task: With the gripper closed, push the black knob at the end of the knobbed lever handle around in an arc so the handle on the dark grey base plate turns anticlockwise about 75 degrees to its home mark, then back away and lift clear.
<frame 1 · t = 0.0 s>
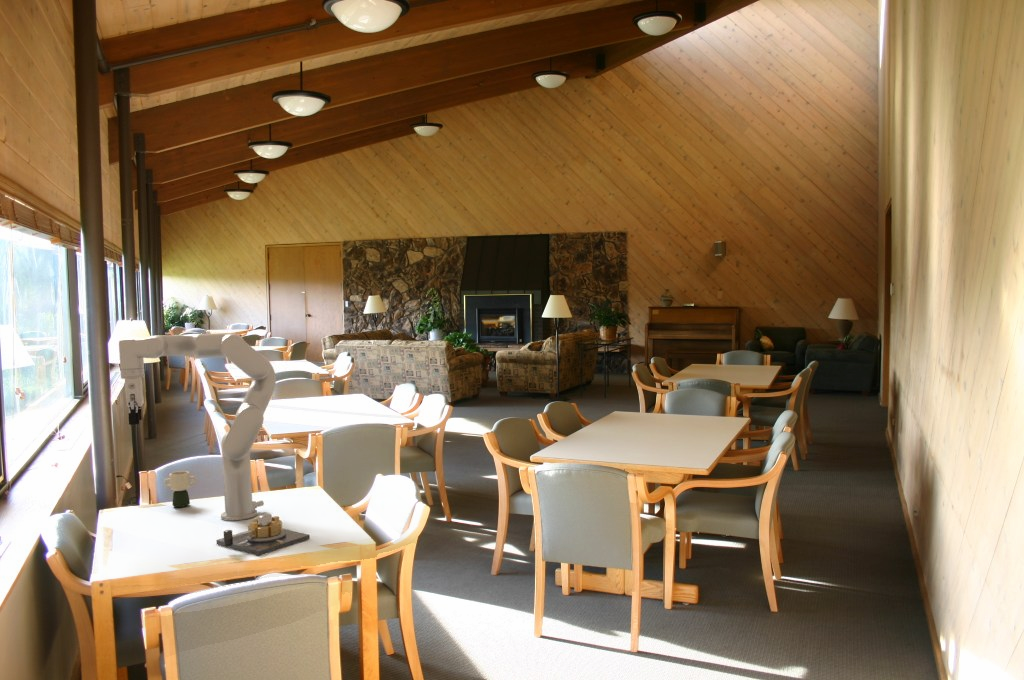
hand: (135, 422, 300), 37 cm above the table, tool pointing down, fingers open, 9 cm apart
base plate: (265, 541, 281), on the table
knobbed lever handle: (252, 530, 277), point 5 cm above the table, hinge at 0.0°
character mug: (181, 506, 330), on the table
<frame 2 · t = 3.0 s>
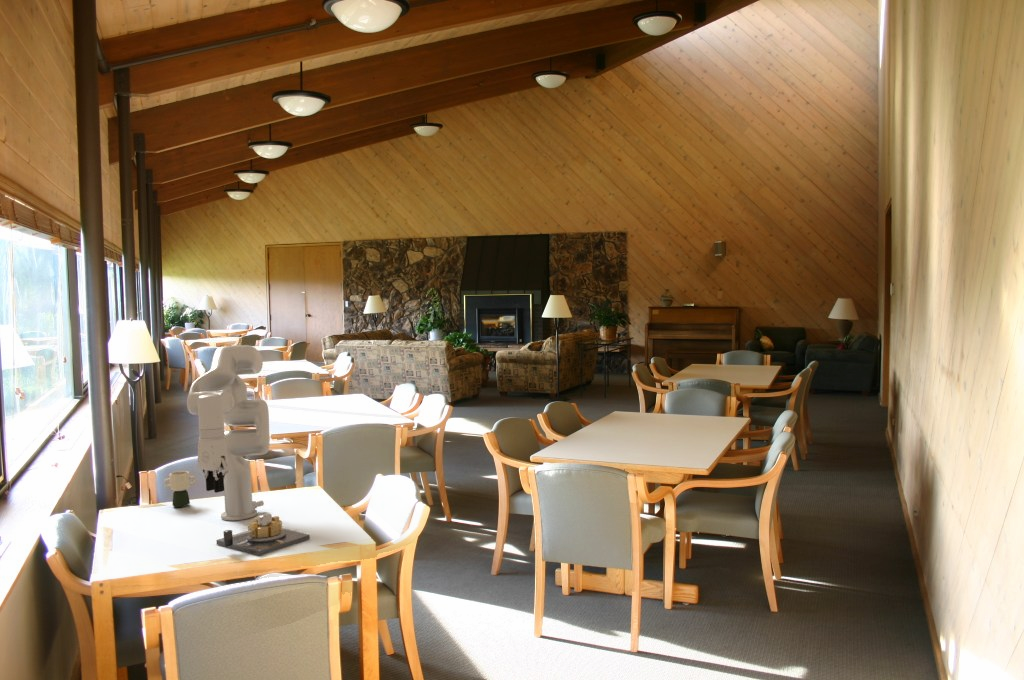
hand: (215, 490, 272), 19 cm above the table, tool pointing down, fingers open, 3 cm apart
nothing on the table moved.
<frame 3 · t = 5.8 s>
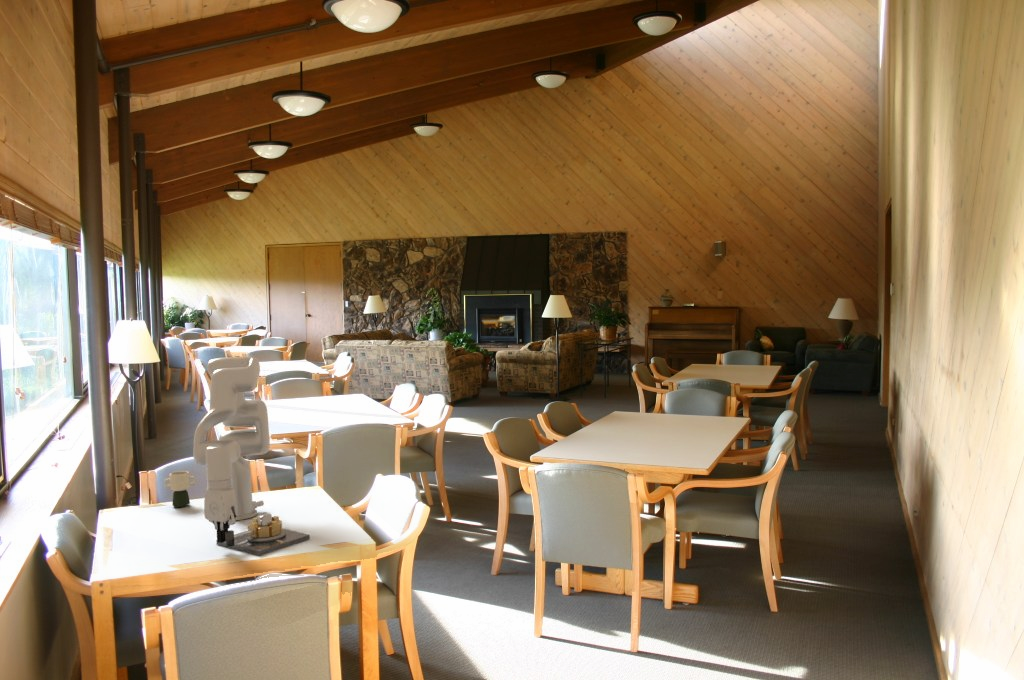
hand: (222, 541, 271), 3 cm above the table, tool pointing down, fingers closed
knobbed lever handle: (252, 530, 276), point 5 cm above the table, hinge at 3.3°, touching gripper
everything else where it was.
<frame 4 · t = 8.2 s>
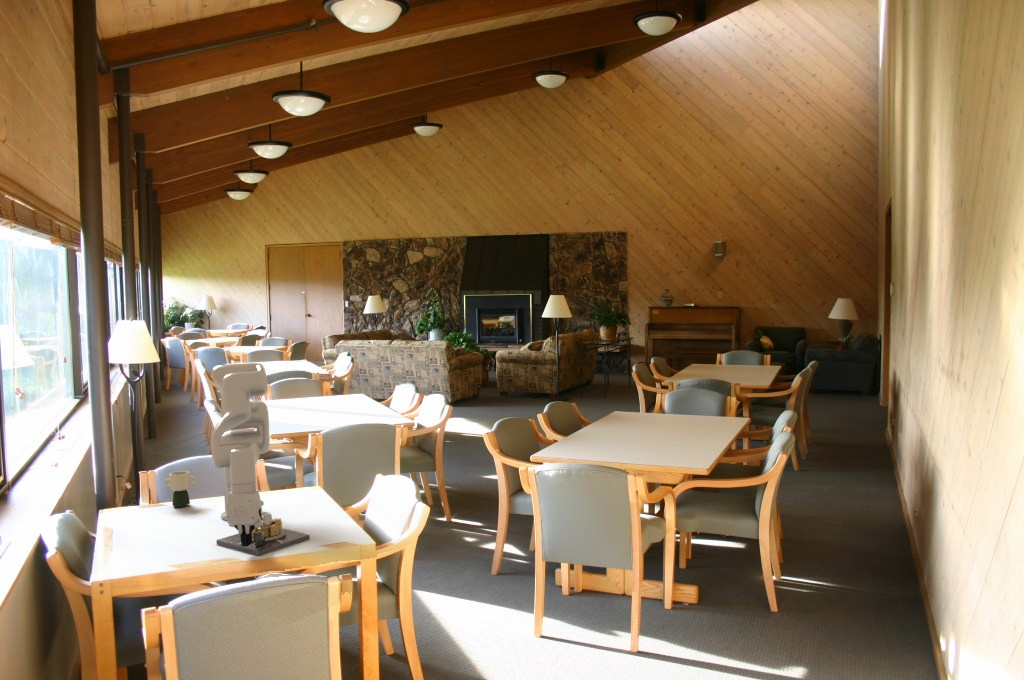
hand: (246, 545, 267), 3 cm above the table, tool pointing down, fingers closed
knobbed lever handle: (262, 531, 276), point 5 cm above the table, hinge at 44.5°, touching gripper
everything else where it was.
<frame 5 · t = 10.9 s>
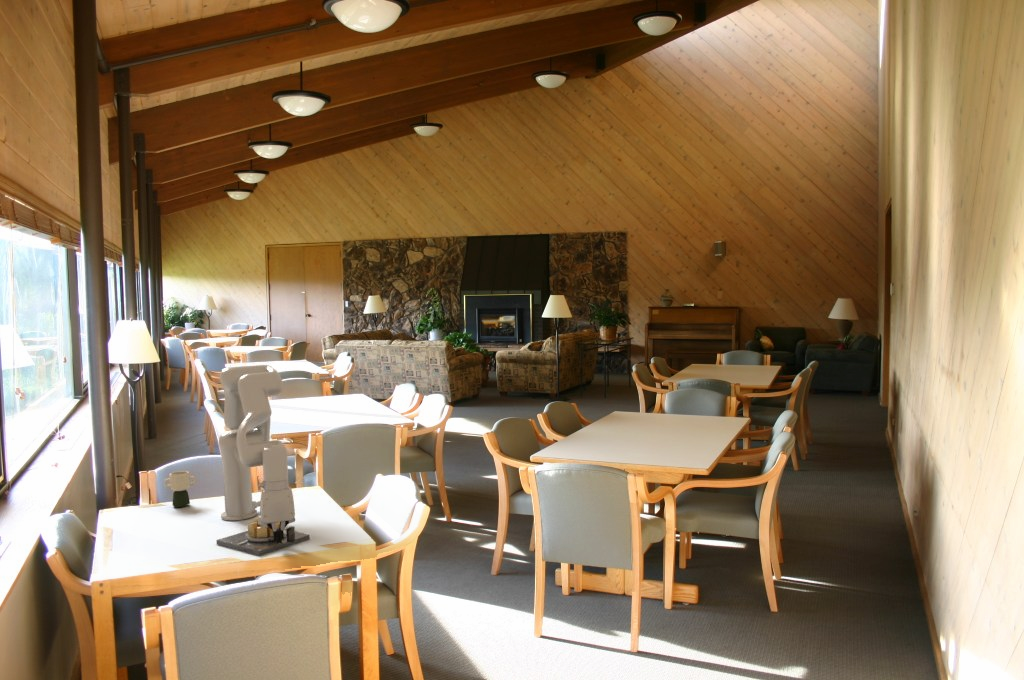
hand: (278, 542, 270), 3 cm above the table, tool pointing down, fingers closed
knobbed lever handle: (274, 529, 277), point 5 cm above the table, hinge at 86.6°, touching gripper
everything else where it was.
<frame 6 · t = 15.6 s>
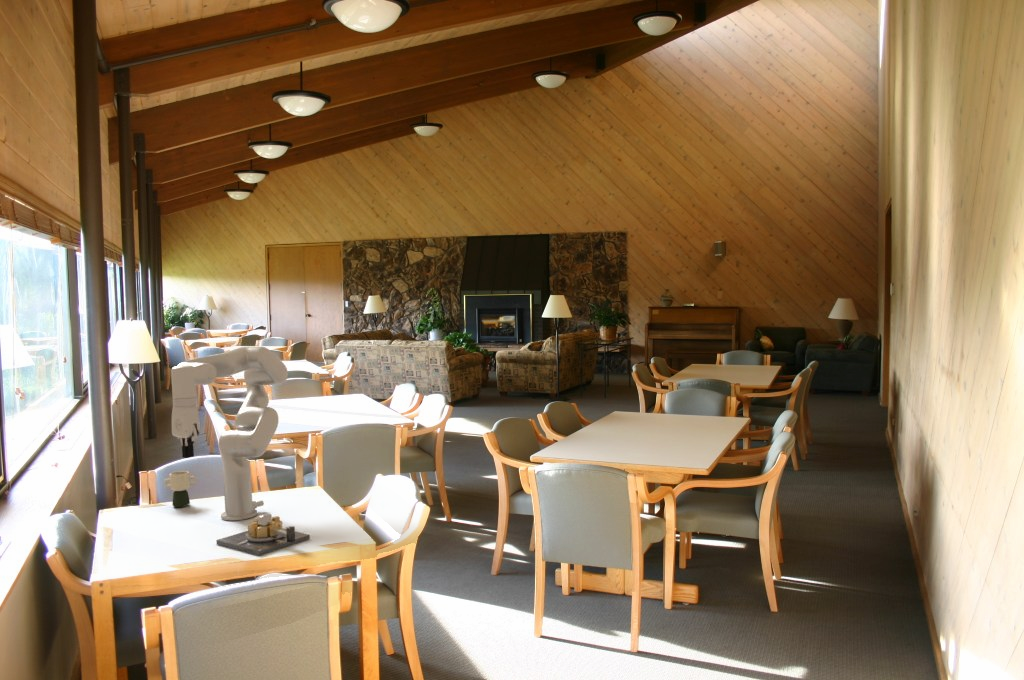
hand: (188, 457, 287), 27 cm above the table, tool pointing down, fingers closed
knobbed lever handle: (274, 529, 277), point 5 cm above the table, hinge at 86.8°
everything else where it was.
at the end: knobbed lever handle at +87° (first picture: +0°); the gripper is holding nothing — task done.
